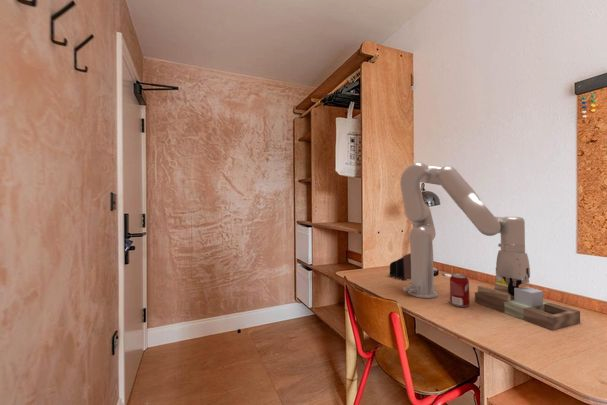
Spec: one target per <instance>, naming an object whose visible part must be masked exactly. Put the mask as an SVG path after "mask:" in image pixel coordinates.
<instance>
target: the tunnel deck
mask: <svg viewBox="0 0 607 405" xmlns="http://www.w3.org/2000/svg"><path fill="white" fill-rule="evenodd" d="M493 286H494V288H491V287H487V286H483V285H477V291H475V292H474V302H475V303H477V304H479V305H482V306H485V307H487V308H490V309H493V310H496V311H498V312H502V313H504V314H506V315H509V316H513V317H515V318H517V319H520V320H524V321H525V322H528V323H531V324H534V325H536V326H540V327H542V328H546V329H547V330H551V331H555V330H558V329H562V328H563V329H564V328H566V327H570V326H573V325H577V324H580V323H581V311H580V310H579V309H578V310H577V309H574V308H570V307H567V306H565V305H560V304H556V303H555V302H554V303H553V302H549V301H545V300H543V305H540V306H535V307H531V306H527V305H524V304H521V303H518V302H515V301H514V296H511V295H510V294H508V286H507V285H503V284H500V283H496V282H495V283H494V284H493Z"/></svg>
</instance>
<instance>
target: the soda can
mask: <svg viewBox="0 0 607 405" xmlns="http://www.w3.org/2000/svg"><path fill="white" fill-rule="evenodd" d="M449 303H450V304H451V305H453V306H455V307H458V308H466V307H468V306H470V281H469V278H468V276H467V275H466V274H463V273H452V274H451V276H450V278H449Z"/></svg>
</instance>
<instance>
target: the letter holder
mask: <svg viewBox="0 0 607 405" xmlns="http://www.w3.org/2000/svg"><path fill="white" fill-rule="evenodd" d="M390 276H391V277H390ZM389 277H390V278H392V277H395V278H394V279H396V278H398V279H397V280H400V279H401V281H404V280H405V281H408V280H407V279H409V280H411V252H410V253H407V254H405V255H404V256H403V257H401V258H398V259H397V260H394V261H392V262H390V263H389Z"/></svg>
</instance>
